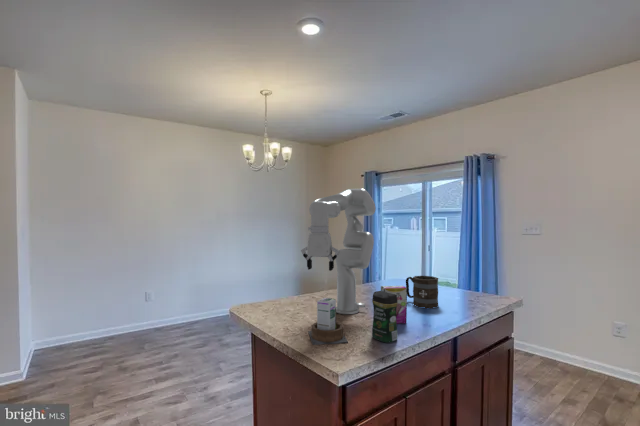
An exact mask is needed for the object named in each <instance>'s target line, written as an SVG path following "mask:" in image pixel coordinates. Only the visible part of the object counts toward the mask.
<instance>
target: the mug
mask: <svg viewBox="0 0 640 426" xmlns="http://www.w3.org/2000/svg"><path fill="white" fill-rule="evenodd" d="M409 279H410V280H411V283H413V285H412V286H413V288H412V294H413V295H410V294H411V293H410V285H409ZM438 284H439V277H435V276H431V275H414V276H413V277H411V276H408V277H406V279H405V287H406V288H407V298H410V299H413V300H412V301H413V302H412V305H413V304H414V305H416V306H418V307H417V308H419V307H425V308H424V309H427V308H430V309H434V308H433V307H437V306H438V307H439V285H438ZM414 305H413V306H414ZM416 306H415V307H416ZM438 307H437V308H438Z"/></svg>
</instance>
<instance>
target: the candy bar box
mask: <svg viewBox="0 0 640 426" xmlns="http://www.w3.org/2000/svg"><path fill="white" fill-rule="evenodd" d="M380 291H384V292H388V293H392V294H396V295H397V301H398V304H397V308H396V322H397V325H400V324H401V325H403V324H407V319H408V318H407V315H408V314H407V311H408V310H407V308H408V305H407V304H408V299H407V298H408V296H407V288H406V286H404V285H380Z"/></svg>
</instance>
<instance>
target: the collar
mask: <svg viewBox="0 0 640 426" xmlns="http://www.w3.org/2000/svg"><path fill="white" fill-rule="evenodd" d="M344 331H345V330H344V325H343V323H340V322H338V321H336V329H335V330H320V329H317V321H316V322H314V323H313V324H311V330H308V335H309V338H310V341H311V344H312V346H314V345H315V346H316V345H332V344H333V345H334V344H336V345H337V344H348V343H349V340H348V339H347V338H346V336H345V333H344Z"/></svg>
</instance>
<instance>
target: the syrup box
mask: <svg viewBox="0 0 640 426" xmlns="http://www.w3.org/2000/svg"><path fill="white" fill-rule="evenodd" d="M336 307H337V298H331V297H323V298H321V299H318V300H317V301H316V310H317V311H316V322H317V329H320V330H335V329H336V322H337V313H336Z"/></svg>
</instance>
